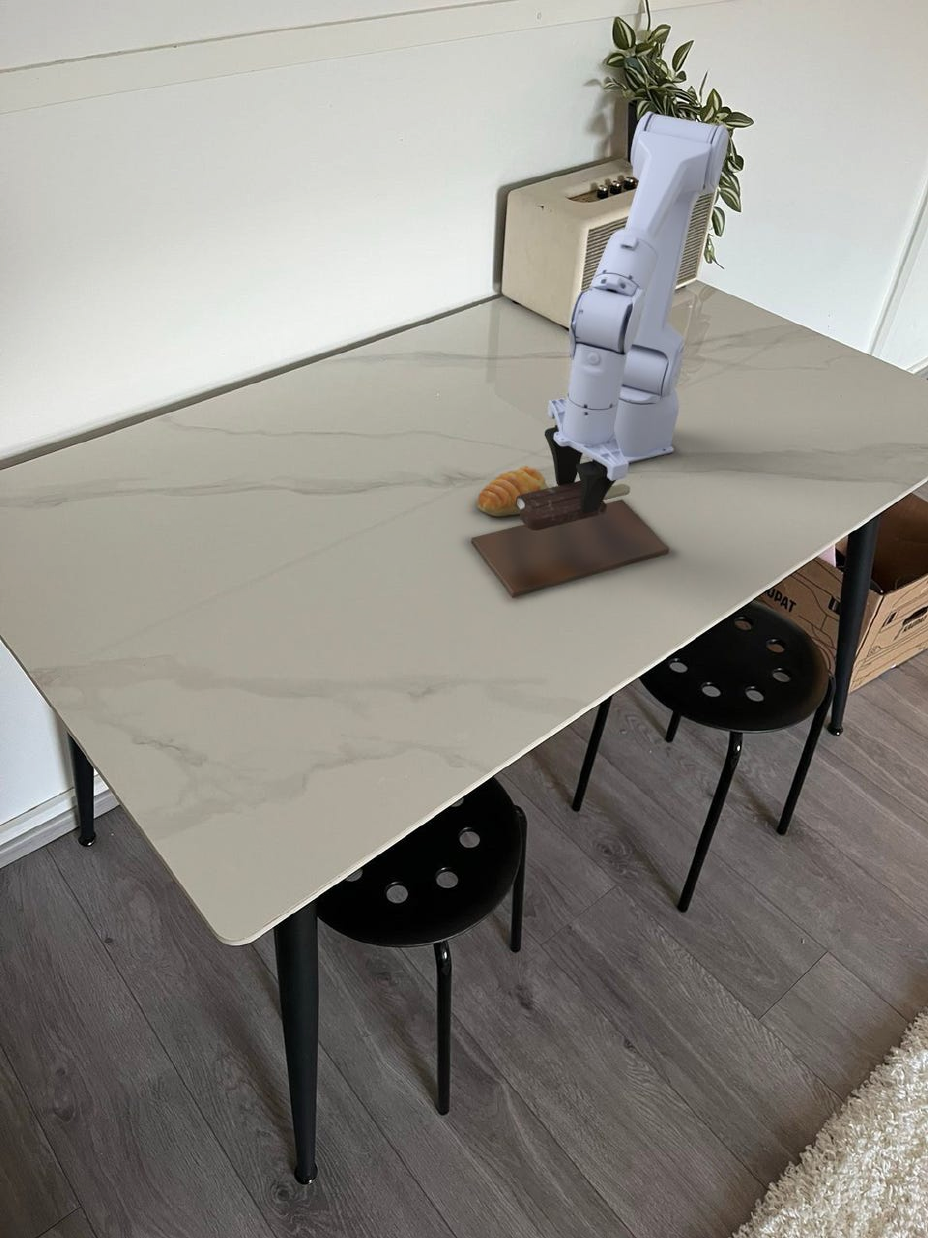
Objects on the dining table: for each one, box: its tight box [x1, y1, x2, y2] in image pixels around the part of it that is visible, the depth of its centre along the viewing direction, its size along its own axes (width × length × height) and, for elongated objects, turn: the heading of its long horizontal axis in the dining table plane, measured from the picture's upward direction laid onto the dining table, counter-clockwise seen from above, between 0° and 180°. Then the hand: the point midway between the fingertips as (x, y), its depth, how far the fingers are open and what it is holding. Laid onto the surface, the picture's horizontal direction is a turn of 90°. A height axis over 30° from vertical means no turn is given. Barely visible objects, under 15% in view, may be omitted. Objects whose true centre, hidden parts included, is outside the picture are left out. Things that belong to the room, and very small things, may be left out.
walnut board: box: [470, 499, 670, 598], centre depth 128 cm, size 22×11×1 cm, turn 116°
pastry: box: [477, 465, 549, 518], centre depth 133 cm, size 9×7×4 cm
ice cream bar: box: [516, 480, 631, 530], centre depth 123 cm, size 5×2×15 cm
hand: (576, 496), depth 123 cm, fingers closed on ice cream bar, 5 cm apart
